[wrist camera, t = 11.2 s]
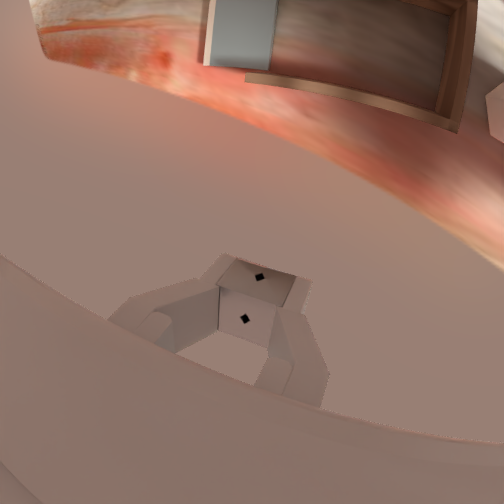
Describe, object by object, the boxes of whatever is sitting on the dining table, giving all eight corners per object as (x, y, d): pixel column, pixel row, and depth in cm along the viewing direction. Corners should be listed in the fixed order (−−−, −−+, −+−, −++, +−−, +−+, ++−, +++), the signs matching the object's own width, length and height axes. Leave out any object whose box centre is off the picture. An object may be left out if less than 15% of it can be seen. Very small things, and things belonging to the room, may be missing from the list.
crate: (458, 12, 20) (478, -4, 14) (440, 122, 28) (457, 133, 22) (284, -24, 25) (260, -46, 19) (271, 81, 33) (244, 82, 27)
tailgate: (278, -18, 25) (212, -18, 27) (267, 70, 32) (203, 65, 33) (280, -16, 26) (215, -16, 28) (269, 70, 33) (207, 65, 34)
